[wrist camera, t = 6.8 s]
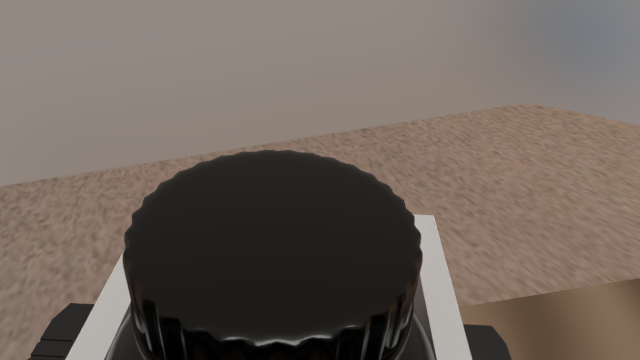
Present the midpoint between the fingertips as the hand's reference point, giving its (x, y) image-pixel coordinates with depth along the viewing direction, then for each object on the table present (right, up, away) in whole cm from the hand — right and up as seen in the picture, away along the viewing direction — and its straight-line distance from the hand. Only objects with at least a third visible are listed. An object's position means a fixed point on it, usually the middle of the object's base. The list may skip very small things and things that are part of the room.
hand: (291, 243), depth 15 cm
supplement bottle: (-1, -9, 0) cm, 9 cm away
